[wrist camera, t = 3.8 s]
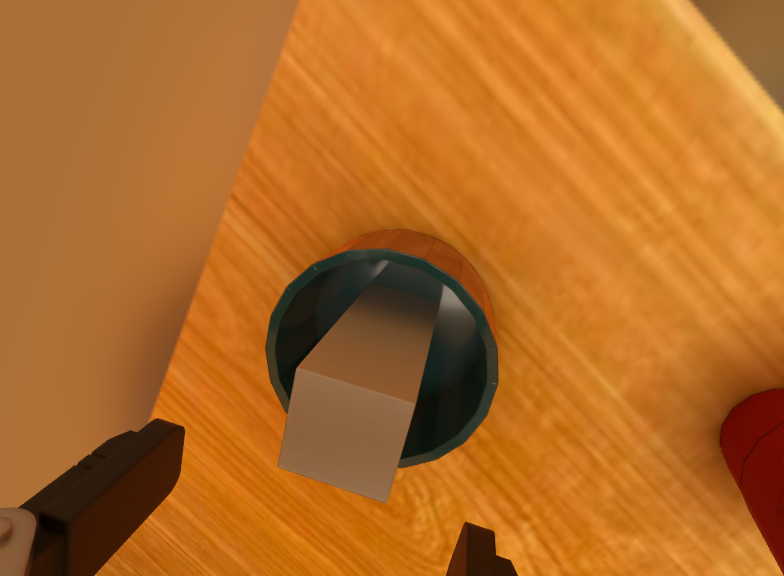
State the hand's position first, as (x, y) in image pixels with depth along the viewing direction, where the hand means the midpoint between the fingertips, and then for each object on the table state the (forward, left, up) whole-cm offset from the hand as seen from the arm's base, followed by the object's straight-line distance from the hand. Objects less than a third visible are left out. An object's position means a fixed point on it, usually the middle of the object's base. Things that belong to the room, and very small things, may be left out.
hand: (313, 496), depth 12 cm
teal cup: (0, 0, -14) cm, 14 cm away
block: (0, 0, -14) cm, 14 cm away
